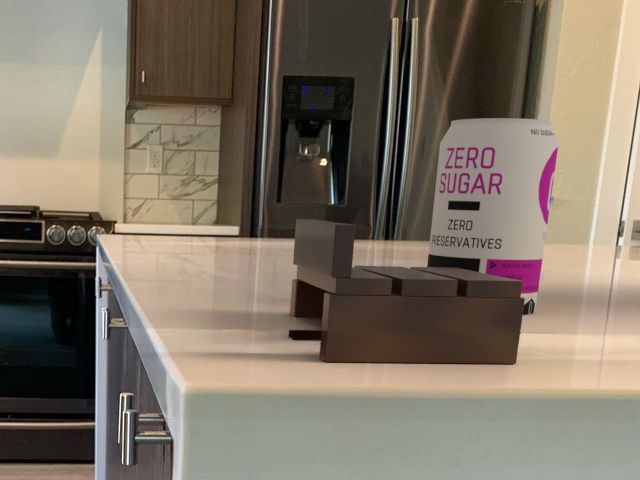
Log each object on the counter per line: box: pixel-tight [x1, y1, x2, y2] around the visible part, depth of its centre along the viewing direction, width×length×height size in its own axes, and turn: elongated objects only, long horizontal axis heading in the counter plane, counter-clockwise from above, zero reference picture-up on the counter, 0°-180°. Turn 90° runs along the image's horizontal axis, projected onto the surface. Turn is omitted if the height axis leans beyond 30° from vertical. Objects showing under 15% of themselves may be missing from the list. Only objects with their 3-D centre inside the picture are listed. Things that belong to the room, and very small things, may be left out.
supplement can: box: [426, 117, 559, 335], centre depth 71 cm, size 8×8×15 cm
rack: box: [288, 218, 525, 365], centre depth 61 cm, size 12×10×8 cm
